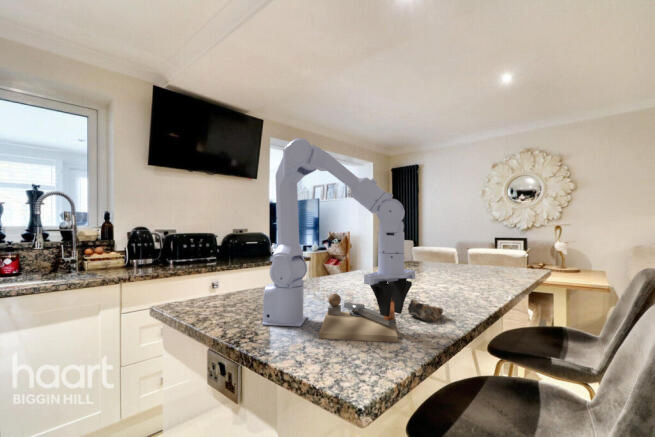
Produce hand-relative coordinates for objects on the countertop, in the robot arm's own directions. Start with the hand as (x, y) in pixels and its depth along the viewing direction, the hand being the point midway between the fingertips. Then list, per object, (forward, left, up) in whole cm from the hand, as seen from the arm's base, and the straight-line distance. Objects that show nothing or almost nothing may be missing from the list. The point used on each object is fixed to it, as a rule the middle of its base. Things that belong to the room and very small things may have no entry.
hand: (390, 314), depth 65 cm
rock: (+10, +13, -4) cm, 17 cm away
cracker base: (-7, +2, -4) cm, 9 cm away
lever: (-5, +5, -2) cm, 8 cm away
